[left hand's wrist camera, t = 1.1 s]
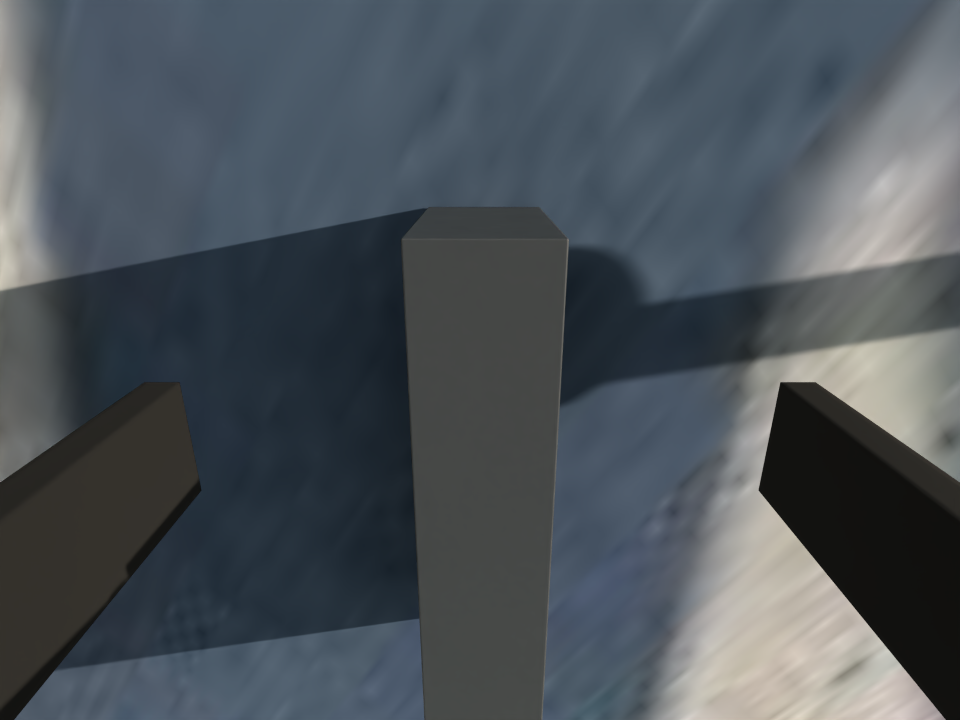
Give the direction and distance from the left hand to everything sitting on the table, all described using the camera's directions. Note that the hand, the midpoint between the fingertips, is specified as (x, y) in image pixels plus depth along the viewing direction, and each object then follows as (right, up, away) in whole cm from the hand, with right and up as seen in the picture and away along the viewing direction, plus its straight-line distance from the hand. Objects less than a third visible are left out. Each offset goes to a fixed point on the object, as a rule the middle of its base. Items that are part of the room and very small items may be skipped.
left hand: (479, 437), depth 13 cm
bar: (0, -2, +14) cm, 15 cm away
